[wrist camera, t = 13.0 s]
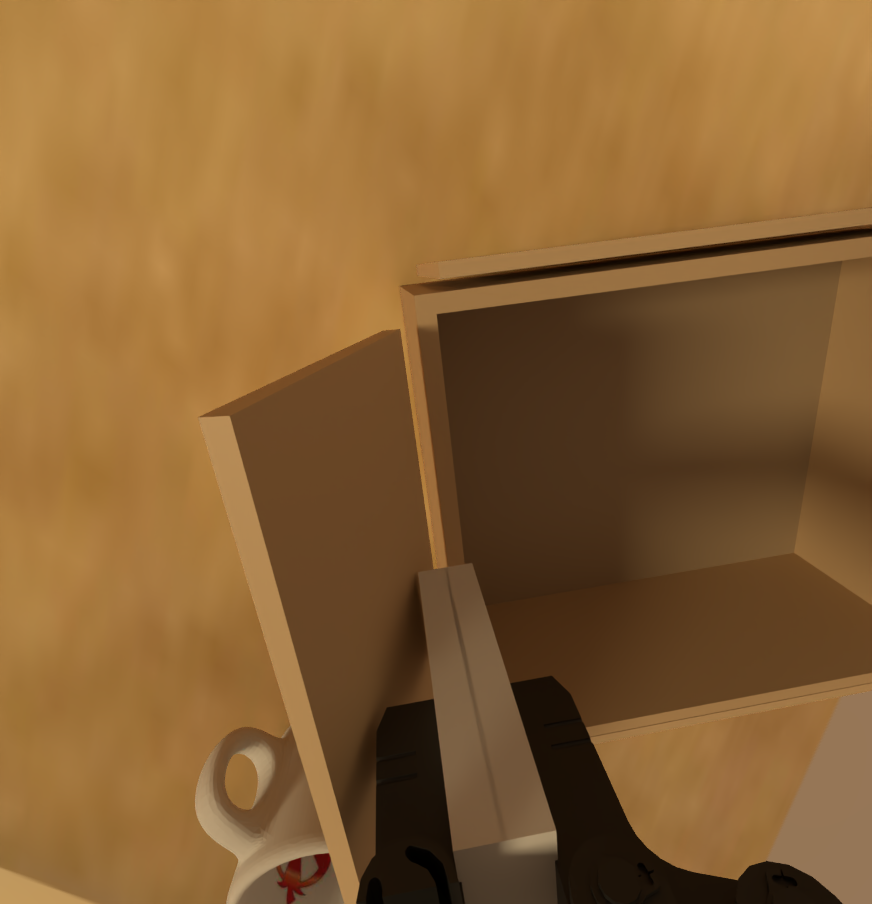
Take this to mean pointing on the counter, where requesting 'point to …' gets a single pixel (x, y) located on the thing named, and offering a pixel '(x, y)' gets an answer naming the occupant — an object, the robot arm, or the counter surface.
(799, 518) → the carton
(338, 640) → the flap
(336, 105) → the counter surface
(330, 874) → the cup
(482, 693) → the robot arm
